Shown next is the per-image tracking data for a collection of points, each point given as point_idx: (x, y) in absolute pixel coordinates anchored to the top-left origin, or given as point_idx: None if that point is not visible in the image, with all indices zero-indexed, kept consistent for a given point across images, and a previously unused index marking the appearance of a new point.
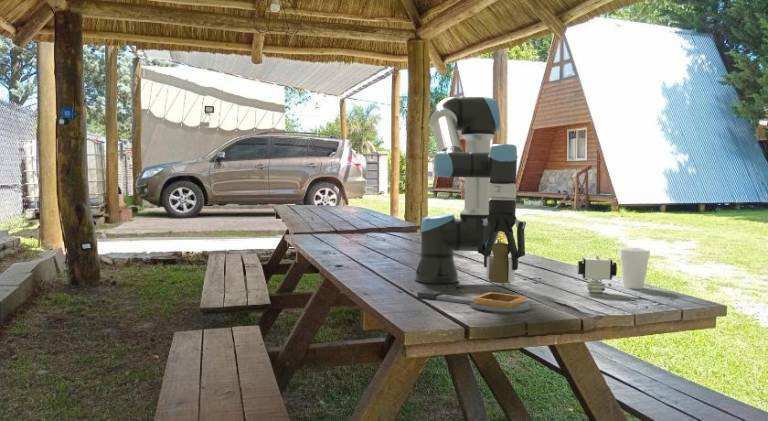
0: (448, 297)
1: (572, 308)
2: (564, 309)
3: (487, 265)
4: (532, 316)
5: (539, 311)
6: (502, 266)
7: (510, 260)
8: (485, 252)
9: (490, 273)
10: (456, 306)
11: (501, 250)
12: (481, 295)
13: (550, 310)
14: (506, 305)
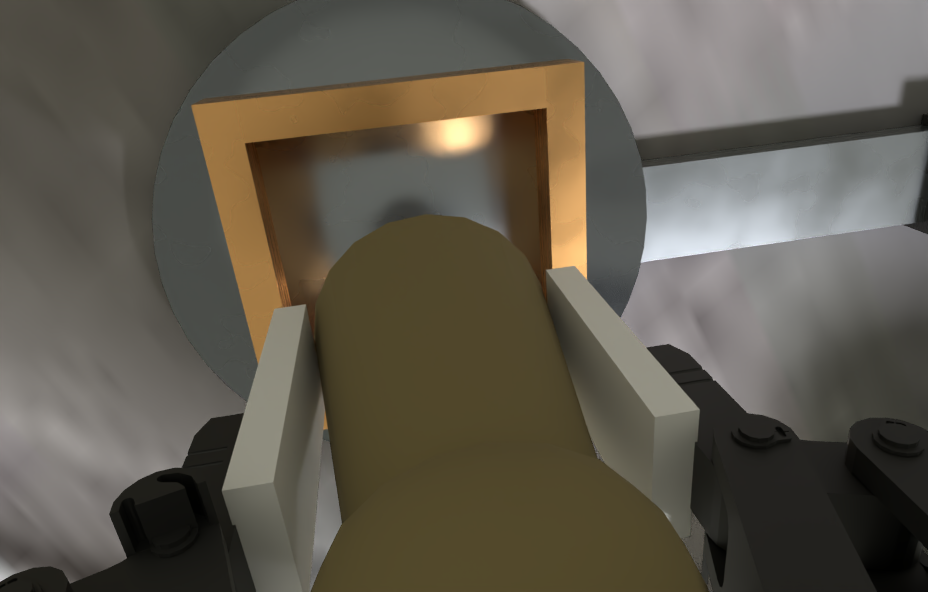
0: (837, 159)
1: (18, 548)
2: (31, 490)
3: (625, 340)
4: (6, 112)
5: (102, 316)
6: (369, 353)
7: (243, 467)
8: (772, 456)
9: (566, 338)
10: (688, 6)
11: (394, 515)
12: (577, 222)
13: (72, 399)
14: (243, 96)
